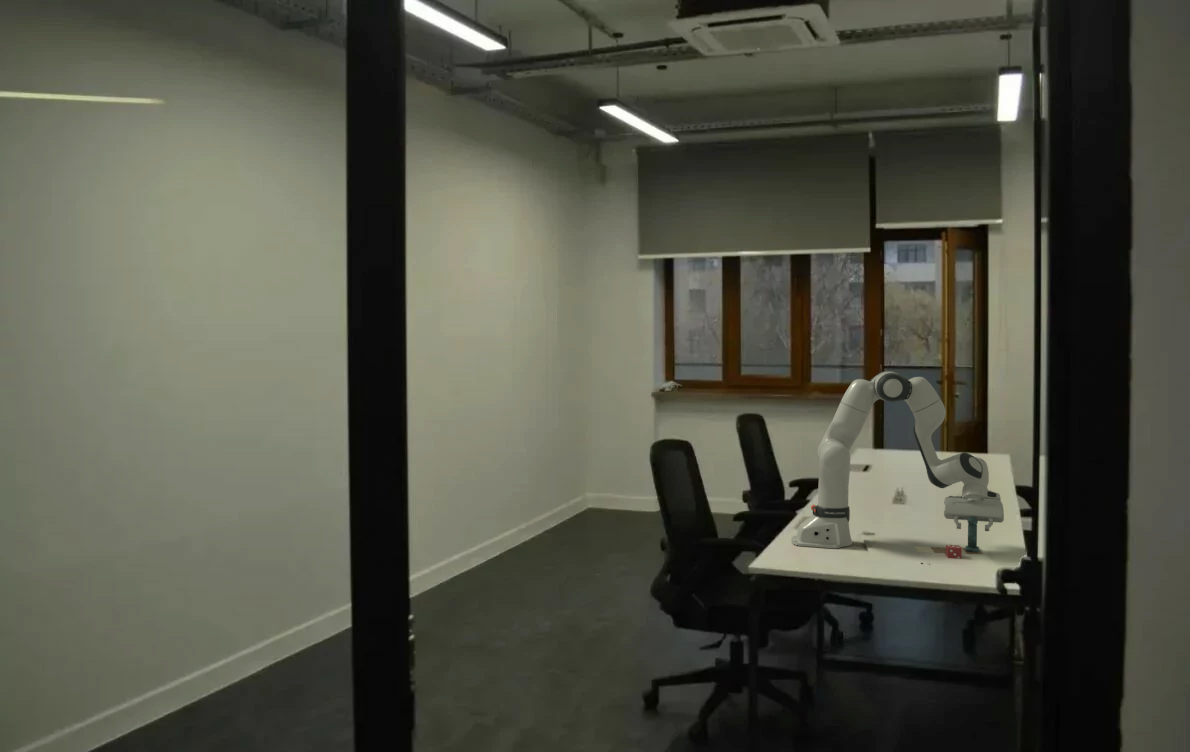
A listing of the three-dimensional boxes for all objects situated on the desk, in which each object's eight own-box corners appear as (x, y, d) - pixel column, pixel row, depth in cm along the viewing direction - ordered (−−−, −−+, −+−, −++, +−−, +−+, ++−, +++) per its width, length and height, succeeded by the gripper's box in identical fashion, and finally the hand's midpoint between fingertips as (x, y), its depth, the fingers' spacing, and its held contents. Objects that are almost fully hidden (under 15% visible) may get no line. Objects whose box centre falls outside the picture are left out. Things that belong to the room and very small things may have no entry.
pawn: (967, 552, 342) (967, 517, 341) (964, 549, 346) (964, 515, 345) (980, 552, 341) (980, 517, 340) (977, 549, 345) (977, 515, 345)
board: (917, 555, 342) (917, 552, 342) (912, 548, 352) (912, 546, 352) (985, 557, 338) (985, 554, 338) (978, 550, 348) (978, 548, 348)
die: (948, 560, 334) (948, 547, 333) (945, 557, 338) (945, 544, 338) (961, 561, 333) (961, 548, 333) (958, 558, 337) (959, 545, 337)
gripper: (944, 490, 354) (941, 521, 345) (1004, 494, 345) (1003, 526, 337) (945, 500, 358) (942, 531, 349) (1004, 504, 349) (1003, 536, 341)
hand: (972, 529), depth 343 cm, fingers open, 8 cm apart
